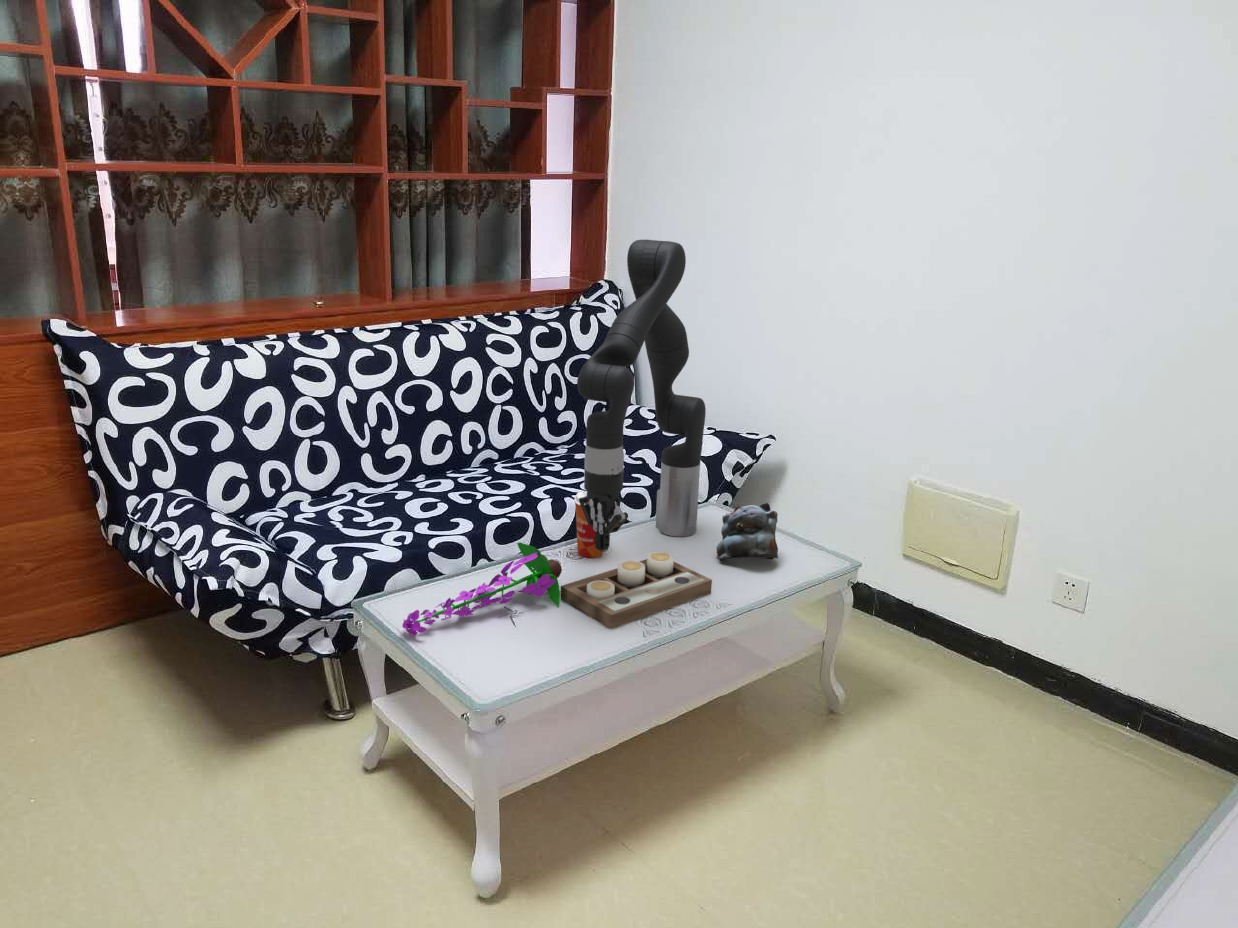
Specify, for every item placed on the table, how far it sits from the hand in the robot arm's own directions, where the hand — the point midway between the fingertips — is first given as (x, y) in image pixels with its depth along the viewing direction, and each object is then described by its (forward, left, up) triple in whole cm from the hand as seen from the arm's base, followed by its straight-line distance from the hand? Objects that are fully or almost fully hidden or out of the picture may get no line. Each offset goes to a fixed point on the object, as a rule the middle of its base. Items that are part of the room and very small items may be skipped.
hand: (602, 549), depth 191 cm
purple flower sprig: (-9, -21, -12) cm, 26 cm away
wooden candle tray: (+2, +8, -12) cm, 14 cm away
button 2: (0, +16, -9) cm, 18 cm away
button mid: (0, +8, -9) cm, 12 cm away
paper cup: (-21, +14, -12) cm, 28 cm away
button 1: (0, 0, -11) cm, 11 cm away
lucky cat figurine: (+1, +41, -12) cm, 43 cm away
